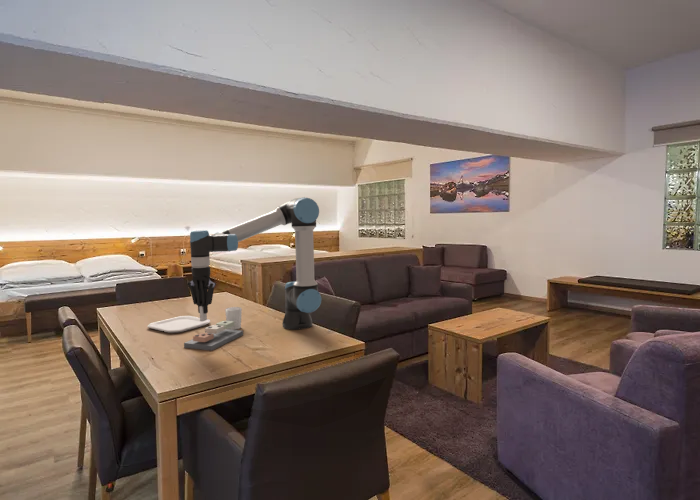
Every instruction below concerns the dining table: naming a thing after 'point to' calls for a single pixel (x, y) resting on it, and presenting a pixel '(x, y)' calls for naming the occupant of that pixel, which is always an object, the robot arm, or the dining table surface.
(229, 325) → the tile one
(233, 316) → the white cup
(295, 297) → the robot arm
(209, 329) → the tile two
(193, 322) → the plate
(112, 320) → the dining table surface
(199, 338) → the tile three
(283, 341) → the dining table surface
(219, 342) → the board
